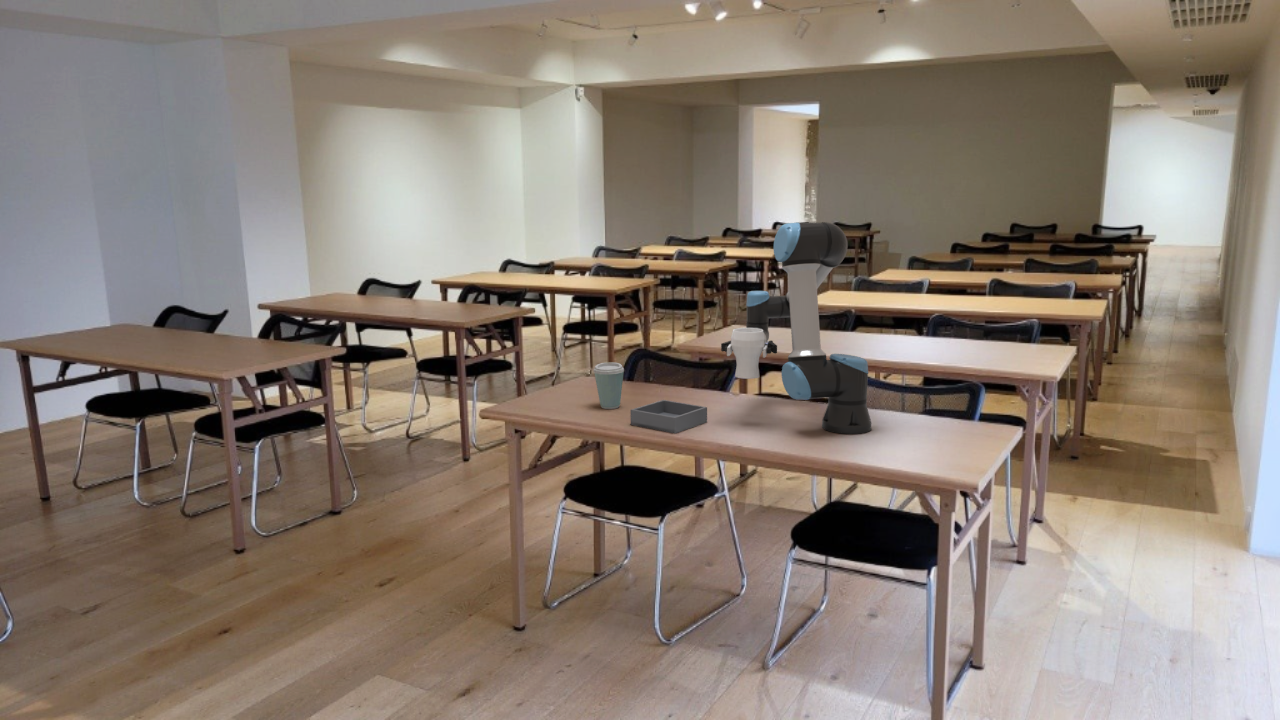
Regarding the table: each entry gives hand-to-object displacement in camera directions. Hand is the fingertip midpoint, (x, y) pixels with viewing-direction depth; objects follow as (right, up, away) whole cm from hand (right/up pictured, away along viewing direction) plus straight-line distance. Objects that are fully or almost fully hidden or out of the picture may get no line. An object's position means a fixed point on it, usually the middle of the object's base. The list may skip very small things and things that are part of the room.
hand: (746, 352), depth 286 cm
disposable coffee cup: (-44, -19, +31) cm, 57 cm away
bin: (-24, -23, +9) cm, 34 cm away
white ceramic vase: (+1, -8, +6) cm, 10 cm away
